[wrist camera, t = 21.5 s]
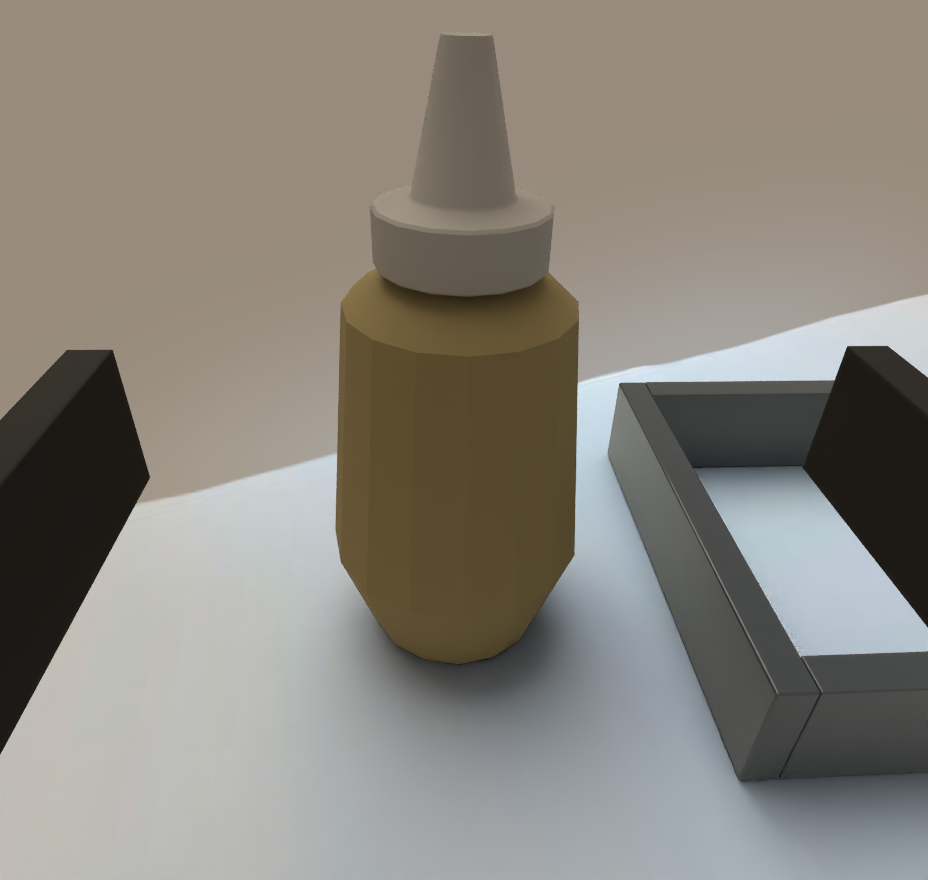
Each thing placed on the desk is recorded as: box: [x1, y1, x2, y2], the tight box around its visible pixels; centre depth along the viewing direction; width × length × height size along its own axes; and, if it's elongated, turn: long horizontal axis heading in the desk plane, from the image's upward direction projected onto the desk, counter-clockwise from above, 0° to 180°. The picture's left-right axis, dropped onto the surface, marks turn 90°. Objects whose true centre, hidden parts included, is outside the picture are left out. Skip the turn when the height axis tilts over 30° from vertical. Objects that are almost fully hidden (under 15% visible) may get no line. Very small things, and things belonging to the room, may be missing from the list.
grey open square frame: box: [608, 380, 928, 780], centre depth 26 cm, size 16×16×4 cm
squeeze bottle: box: [336, 32, 579, 664], centre depth 20 cm, size 8×8×18 cm
